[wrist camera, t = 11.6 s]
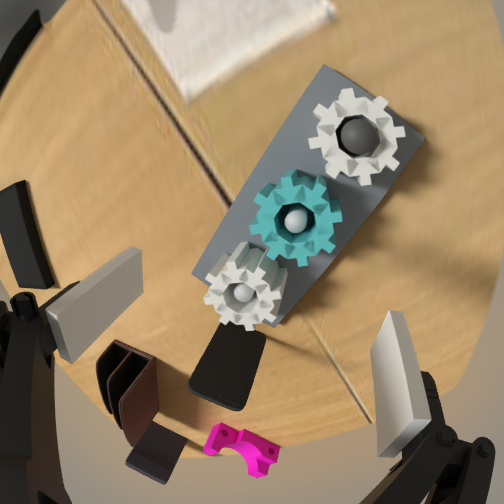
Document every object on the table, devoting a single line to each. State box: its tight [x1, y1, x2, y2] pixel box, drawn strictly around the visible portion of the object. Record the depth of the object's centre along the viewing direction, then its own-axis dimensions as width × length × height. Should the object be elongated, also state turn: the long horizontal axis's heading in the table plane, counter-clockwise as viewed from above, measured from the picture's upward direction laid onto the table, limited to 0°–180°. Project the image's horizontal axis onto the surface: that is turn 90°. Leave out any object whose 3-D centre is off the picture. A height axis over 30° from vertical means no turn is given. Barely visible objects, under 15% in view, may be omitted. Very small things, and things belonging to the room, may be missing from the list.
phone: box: [188, 320, 266, 411], centre depth 38 cm, size 7×1×15 cm, turn 71°
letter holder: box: [96, 339, 159, 447], centre depth 51 cm, size 10×20×14 cm, turn 169°
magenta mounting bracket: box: [203, 423, 280, 478], centre depth 54 cm, size 15×6×8 cm, turn 54°
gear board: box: [191, 64, 425, 331], centre depth 32 cm, size 32×14×9 cm, turn 148°
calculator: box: [126, 421, 187, 484], centre depth 58 cm, size 11×4×15 cm, turn 67°
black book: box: [0, 180, 55, 289], centre depth 50 cm, size 14×23×3 cm, turn 9°
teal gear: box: [249, 169, 343, 267], centre depth 31 cm, size 9×9×6 cm
